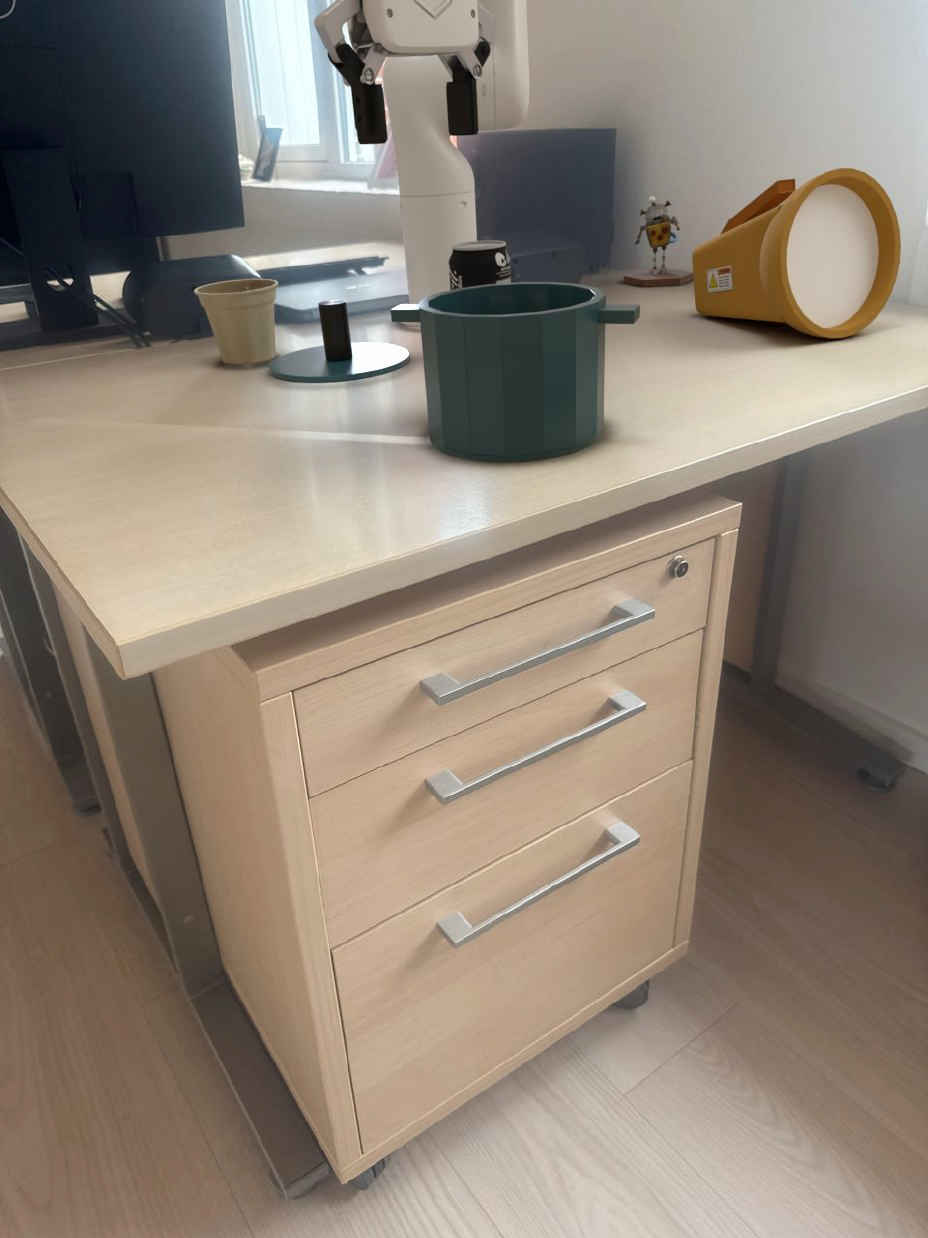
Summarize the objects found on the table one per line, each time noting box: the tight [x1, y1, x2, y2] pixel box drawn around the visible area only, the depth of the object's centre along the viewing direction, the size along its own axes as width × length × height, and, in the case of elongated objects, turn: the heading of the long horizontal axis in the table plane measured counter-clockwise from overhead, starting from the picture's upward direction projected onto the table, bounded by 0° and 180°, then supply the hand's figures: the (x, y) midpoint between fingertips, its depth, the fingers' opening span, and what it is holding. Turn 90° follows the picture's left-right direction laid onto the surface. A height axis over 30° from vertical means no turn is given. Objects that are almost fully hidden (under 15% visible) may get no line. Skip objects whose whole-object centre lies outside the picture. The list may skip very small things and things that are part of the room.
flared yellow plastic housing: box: [691, 167, 902, 339], centre depth 102 cm, size 20×17×18 cm
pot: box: [390, 281, 641, 463], centre depth 72 cm, size 15×20×11 cm
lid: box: [268, 299, 410, 383], centre depth 97 cm, size 16×16×7 cm
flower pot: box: [193, 278, 279, 365], centre depth 102 cm, size 9×9×9 cm
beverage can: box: [449, 239, 512, 290], centre depth 96 cm, size 7×7×12 cm
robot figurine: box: [623, 195, 694, 288], centre depth 133 cm, size 11×9×12 cm
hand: (419, 139), depth 73 cm, fingers open, 9 cm apart
